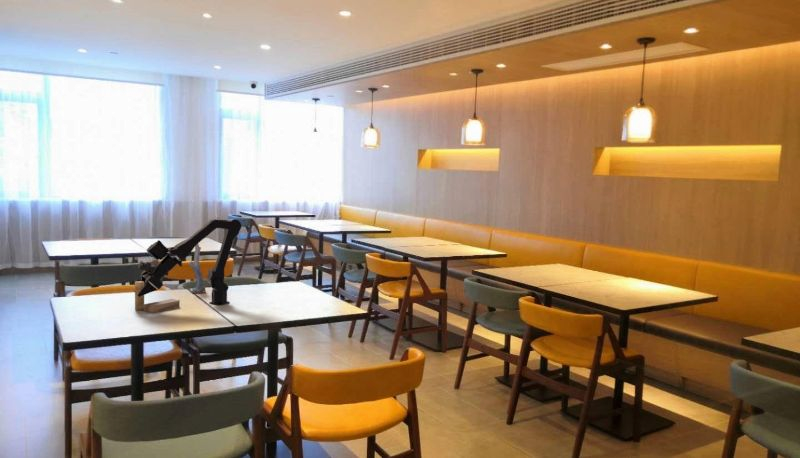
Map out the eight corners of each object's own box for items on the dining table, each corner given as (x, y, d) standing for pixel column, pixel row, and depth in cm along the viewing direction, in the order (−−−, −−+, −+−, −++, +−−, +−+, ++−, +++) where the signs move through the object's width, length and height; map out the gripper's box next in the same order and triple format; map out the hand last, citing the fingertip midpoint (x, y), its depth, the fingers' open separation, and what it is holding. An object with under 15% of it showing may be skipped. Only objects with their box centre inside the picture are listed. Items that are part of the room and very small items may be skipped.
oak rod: (146, 309, 245) (146, 281, 244) (138, 311, 242) (138, 283, 241) (140, 308, 247) (140, 280, 246) (133, 310, 244) (133, 282, 243)
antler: (206, 293, 283) (206, 243, 281) (189, 294, 280) (189, 243, 278) (204, 289, 293) (205, 240, 291) (188, 289, 290) (188, 240, 288)
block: (179, 307, 252) (179, 300, 252) (151, 312, 240) (151, 305, 240) (171, 305, 255) (171, 298, 254) (144, 311, 243) (144, 304, 242)
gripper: (146, 251, 253) (118, 278, 248) (154, 257, 237) (124, 285, 232) (165, 268, 258) (138, 294, 253) (174, 275, 242) (145, 303, 237)
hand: (136, 294), depth 243 cm, fingers open, 9 cm apart
